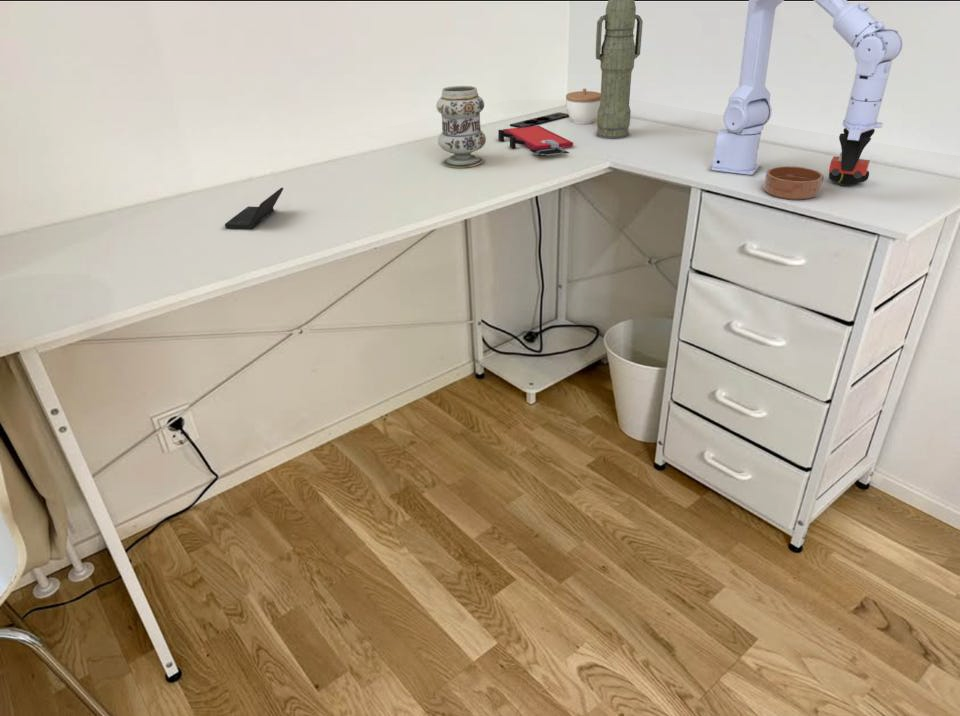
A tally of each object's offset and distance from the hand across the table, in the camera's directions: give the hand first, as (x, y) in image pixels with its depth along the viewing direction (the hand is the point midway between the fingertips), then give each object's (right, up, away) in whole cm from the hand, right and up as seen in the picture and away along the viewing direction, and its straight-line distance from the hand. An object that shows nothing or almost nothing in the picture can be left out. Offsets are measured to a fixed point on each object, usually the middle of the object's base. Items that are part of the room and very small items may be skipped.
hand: (848, 167), depth 143 cm
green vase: (-38, +24, +53) cm, 69 cm away
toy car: (0, -1, +1) cm, 1 cm away
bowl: (-9, -3, +7) cm, 12 cm away
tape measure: (+5, 0, +12) cm, 13 cm away
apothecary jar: (-80, +10, +34) cm, 88 cm away
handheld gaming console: (-123, -10, +3) cm, 123 cm away
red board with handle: (-61, +19, +47) cm, 79 cm away
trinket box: (-45, +32, +67) cm, 87 cm away
